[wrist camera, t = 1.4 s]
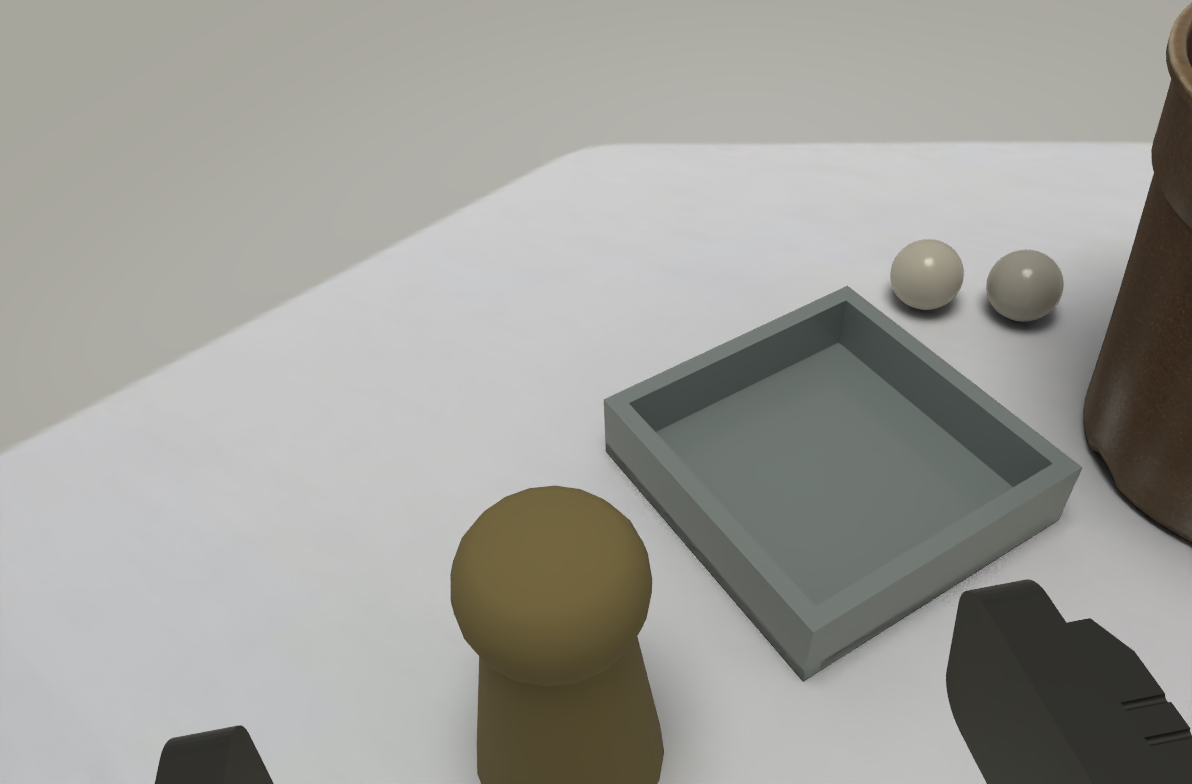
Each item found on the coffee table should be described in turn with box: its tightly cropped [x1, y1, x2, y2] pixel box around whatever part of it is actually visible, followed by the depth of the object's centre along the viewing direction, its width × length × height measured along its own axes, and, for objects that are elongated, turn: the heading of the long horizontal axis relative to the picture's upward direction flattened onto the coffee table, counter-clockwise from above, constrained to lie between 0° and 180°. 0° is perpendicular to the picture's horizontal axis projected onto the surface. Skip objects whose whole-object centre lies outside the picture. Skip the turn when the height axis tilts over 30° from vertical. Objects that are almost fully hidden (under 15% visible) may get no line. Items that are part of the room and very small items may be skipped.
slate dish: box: [604, 286, 1082, 681], centre depth 40 cm, size 12×12×3 cm
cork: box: [451, 486, 664, 784], centre depth 29 cm, size 6×6×11 cm
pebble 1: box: [890, 239, 964, 310], centre depth 47 cm, size 3×3×3 cm
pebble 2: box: [986, 250, 1064, 321], centre depth 46 cm, size 3×3×3 cm
